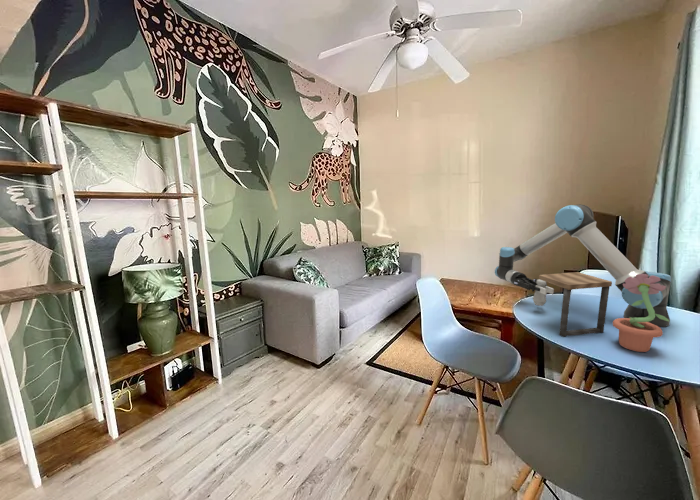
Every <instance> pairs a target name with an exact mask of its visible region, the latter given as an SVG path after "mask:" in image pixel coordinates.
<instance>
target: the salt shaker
mask: <svg viewBox="0 0 700 500" xmlns="http://www.w3.org/2000/svg"><path fill="white" fill-rule="evenodd" d="M536 283H537V285H538V286H540V287H543V288H545V285H546V284H547V282H545V281H543V280H540V279H539V278H537V281H536ZM532 301H533V303H534V305H536V306H538V307H539V306H540V307H543V306H545V304H546V302H547V295H545V294H542V293H540V292H538V291H535V290H534V294H533V297H532Z"/></svg>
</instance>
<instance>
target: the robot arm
mask: <svg viewBox="0 0 700 500" xmlns="http://www.w3.org/2000/svg"><path fill="white" fill-rule="evenodd" d="M554 222H555V223H553V224H551V225H549V226H548V227H547V228H545V229H544V230H542V231H540V232H538V233H537V234H534V235H533V237H530V238H529V239H527V240H526V241H524V242H522V243H521V244H519V245H517V246H516V247H509V246H503V247H501V248H500V249H499V253H498V254H499V257H498V259H499V260H498V266H496V268H495V269H494V274H495V276H496V277H498V278H499V279H500V280H504V281H505V282H508V283H510V284H511V285H513V286H517V287H521V288H523V289H525V290H528V291H531V292H534V293H535V291H538V292H540V293H542V294H545V295H546V296H547V294H551V295H553V294H554V290H555V289H554V288H553V287H550V286H548V284H547V283H546V285H545V288H543V287H540V286H538V285H537V283H536V281H537V280H538V278H534V279H531V278H529V277H527V275H526V274H525V273H523V272H520V271H518V270H515V269H514V262H518V261H521V260H522V261H523V259H525V258H526V257H528V256H529V255H531V254H533V253H534V252H536V251H538V250H540V249H541V248H543V247H546V246H547V245H548V244H550V243H552V242H553V241H556V240H557V239H559V238H561V237H563V236H564V235H566V234H568V235H569V236H570V237H571V238H577V239H578V240H579V242H580V243H581V244H582V245H583V246H584V247H585V248H586V249H587V250H588V251H589V253H591V255H592V256H594V258H595V259H596V260H597V261H598V262H599V263H600V264H601V266H603V268H604V269H605V270H606V271H607V272H608V273H609V274H610V275H611V276H612V277H613V279H615V283H614V285H615V286H616V287H617V289H618V290H619V291H620V292H621V297H622V300H623V301H624V302H625V303H627V304H628V305H627V307H626V308H625V309H624V312H623V318H629V317H632V318H638V317H640V318H642V317H647V316H648V315H649V313H648V310H647V308H646V306H645V304H644V302H643V303H642V304H641V305H637V306H632V304H633V303H634V302H636V301H639V300H643V298H642V294H634V293H632V292H630V291H628V289H625V288H624V287H623V284H626V283H625V280H626V279H627V278H628V277H632V278H636V275H638V274H647V275H648V277H647V278H649V277H650V276H657V277H659V278H660V281H658V282H655V283H653V284H660V285H661V286H666V288H665V289H664V290H662V291H659V293H657V294H648V295H649V299H650V302H651V305H652V307H653V309H654V311H655V314H658V315H662V316H664V317H666V318H667V319H669V321H670V322H669V321H665V320H662V319H660V318H658V317H657V316H656V315H655V318H654V319H653V320H651V321H649V323H651V324H654V325H656V326H658V327H660V328H665V327H666V328H667V327H669V326H670V323H671V319H670V316H669V312H668V308H667V306H668V301H669V294H670V287H671V283H672V276H671V275H669V274H667V273H662V272H655V271H646V270H642V269H637V268H636V266H635V265H633V263H632V262H631V261H630V260H629V259H628V258H627V257H626V256H625V255H624V254H623V253H622V252H621V251H620V250H619V249H618V248H617V247H616V246H615V245H614V243H612V242H611V240H609V238H608V237H606V236H605V234H604V233H602V231H601V230H600V229H599V228H598V227H597V221H596V220H595V218H594V212H593V209H592V208H591V207H590V206H588V205H586V204H582V203H581V204H575V205H574V204H570V205H566V206H564V207H562V208H560V209H559V210H558V211H557V212H556V214H555V216H554Z"/></svg>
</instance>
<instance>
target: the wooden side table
mask: <svg viewBox="0 0 700 500" xmlns="http://www.w3.org/2000/svg"><path fill="white" fill-rule="evenodd" d="M538 279H540V280H543V281H545V282H546V283H549V284H551V285H554V286H557V287H559V288H563V291H562V293H563V295H562V303H561V312H560V323H559V332H558V335H559V336H560V337H562V338H566V337H570V336H580V335H589V334H592V335H593V334H603V333H604V330H605V324H606V315H607V309H608V300H609V293H610V287H612V285H613V282H612V281H611V280H607V279H605V278H600V277H597V276H593V275H589V274H586V273H583V272H579V271H575V272H562V273H561V272H560V273H549V274H548V273H546V274H539V275H538ZM594 288H601V292H600V297H599V298H600V300H599V305H598V314H597V323H596V327H588V328H580V329H571V330H570V329H569V330H568V321H569V311H570V303H571V294H572V290H582V289H583V290H584V289H594Z"/></svg>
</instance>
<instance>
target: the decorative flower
mask: <svg viewBox="0 0 700 500" xmlns="http://www.w3.org/2000/svg"><path fill="white" fill-rule="evenodd" d="M647 277H648V275H647V274H638V275H636V278H632V277H628V278H627V279H626V280H625V283H626V284H623V287H624V288H625V289H628V291H630V292H632V293H634V294H642V298H643V300H639V301H636V302H634V303H633V304H632V306H637V305H641V304H642V303H643V302H644V304H645V306H646V308H647V310H648V313H649V315H648V316H647V317H642V318H640V317H638V318H632V317H629V318H625V317H620V318H619V317H618V318H615V319H614V320H613V321H612V326H613V328H615V329H617V330H618V343H619V345H620V346H621V347H623V348H624V349H627V350H630V351H633V352H640V353H644V352H645V353H646V352H649V351H650V349H651V347H652V343H653V339H654V338H659V337H662V336H663V334H664V332H663V330H662V327H658V326H656V325H654V324H651V323H649V321H651V320H653V319H654V318H655V315H656V316H657V317H658V318H660V319H662V320H665V321H669V319H667V318H666V317H664V316H662V315H658V314H655V311H654V309H653V307H652V305H651V302H650V299H649V295H648V294H657V293H659V291H662V290H664V289H665V288H666V286H661V285H660V284H653V283H655V282H658V281H660V278H659V277H657V276H650V277H649V278H647ZM669 322H670V323H671V320H670V321H669Z"/></svg>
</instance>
